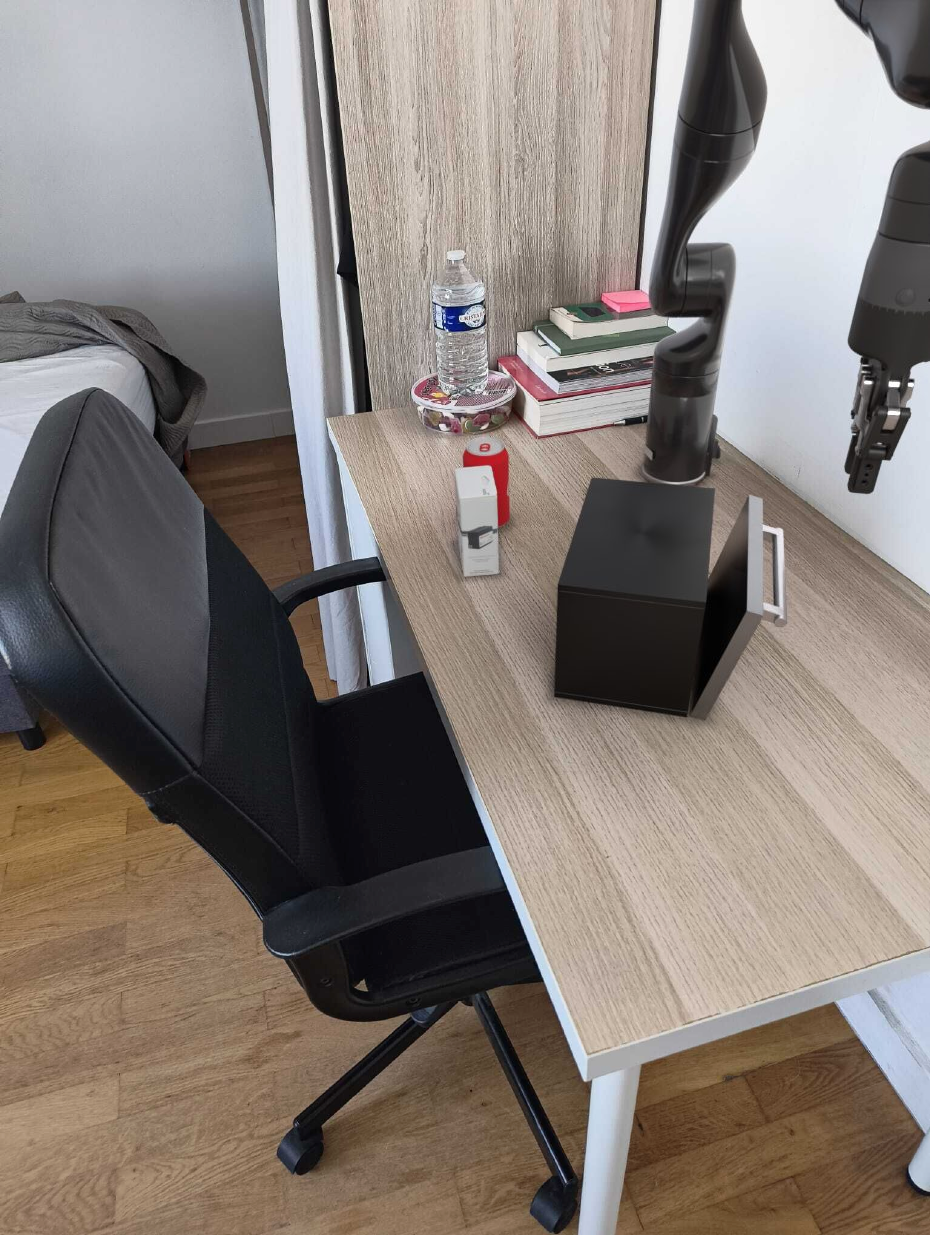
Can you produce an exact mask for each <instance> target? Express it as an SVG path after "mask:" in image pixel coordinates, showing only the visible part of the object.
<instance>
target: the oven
mask: <svg viewBox="0 0 930 1235" xmlns="http://www.w3.org/2000/svg"><path fill="white" fill-rule="evenodd" d="M715 497H716V488H715V487H703V486H682V485H671V484H660V483H650V482H649V481H636V480H627V479H615V478H604V477H592V476H591V478H590V480H589V483H588V487H587V491H586V494H585V497H584V500H583V503H582V506H581V510H580V513H579V516H578V519H577V522H576V526H575V528H574V531H573V534H572V538H571V540H570V544H569V547H568V550H567V553H566V557H565V560H564V564H563V566H562V568H561V572H560V576H559V579H558V581H557V587H556V588H557V592H556V622H555V623H556V624H555V651H554V652H555V653H554V654H555V657H554V685H553V686H554V687H553V689H554V692H553V697H554V698H558V699H565V700H571V701H578V702H582V703H583V702H584V703H591V704H597V705H604V706H610V707H616V708H624V709H629V710H630V709H631V710H636V711H643V712H649V713H656V714H663V715H669V716H675V717H682V718H687V717H688V714H689V707H690V702H691V698H692V691H693V680H694V672H695V666H696V660H697V654H698V648H699V642H700V636H701V630H702V624H703V618H704V612H705V606H706V598H707V586H708V578H709V572H710V559H711V547H712V536H713V524H714V523H713V522H714V511H715V510H714V509H715Z"/></svg>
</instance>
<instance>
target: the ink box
mask: <svg viewBox="0 0 930 1235" xmlns="http://www.w3.org/2000/svg"><path fill="white" fill-rule="evenodd" d="M453 471H454V492H455V493H454V494H455V510H456V511H455V512H456V531H457V545H458V551H459V557H460V563H461V568H462V574H463V577H464V578H465V577H466V578H467V577H477V576H479V577H480V576H490V575H498V574H500V555H499V554H500V553H499V528H498V514H497V491H496V486H495V482H494V478H493V472H492V468H491V466H488V465H487V466H476V467H465V468H463V467H455V468H454V470H453Z"/></svg>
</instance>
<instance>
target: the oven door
mask: <svg viewBox="0 0 930 1235" xmlns="http://www.w3.org/2000/svg"><path fill="white" fill-rule="evenodd" d="M763 500H764V499H763V498H762V497H759V496H755V495H753V494H748V496H747V498H746V499H745V502H744V503H743V505H742V508H741V510H740V512H739V514H738V516H737V518H736V521H735V522H734V525H733V526H732V529H731V531H730V533H729V535H728V537H727V539H726V541H725V543H724V545H723V547H722V549H721V551H720V553H719V555H718V557H717V559H716V562H715V564H714V565H713V568H712V570H711V571H710V574H709V575H708V586H707V598H706V606H705V612H704V618H703V624H702V630H701V636H700V642H699V648H698V654H697V660H696V666H695V672H694V678H693V684H692V690H691V701H690V702H691V704H690V713H689V716H690V717H693V718H697V719H698V720H701V721H702V720H703V721H706V720H707V718H708V716H709V714H710V712H711V711H712V709H713V707H714V705H715V704H716V702H717V700H718V698H719V697H720V695H721V694H722V691H723V689H724V688H725V686H726V684H727V682H728V680H729V678H730V676H731V675H732V673H733V672H734V670H735V668H736V667H737V664H738V663H739V660H740V659H741V657H742V656H743V653H744V652H745V650H746V649H747V646H748V645H749V643H750V641H751V639H752V637H753V636H754V634H755V632H756V631H757V629H758V626H759V625H760V623H761V621H765V622H768V623H771V624H773V625H775V627H777V628H784V627H786V626H787V624H788V609H787V608H788V606H787V587H786V586H787V585H786V563H785V562H786V560H785V539H784V537H785V536H784V529H782V528H781V527H773V526H769V525H766V524H764V506H763V505H764V502H763ZM764 541H765V542H769V543H771V554H772V555H771V556H772V558H771V559H772V562H771V563H772V598H773V600H772V602H773V604H771V603H767V602H765V601H764Z"/></svg>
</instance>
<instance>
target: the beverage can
mask: <svg viewBox="0 0 930 1235" xmlns="http://www.w3.org/2000/svg"><path fill="white" fill-rule="evenodd" d="M509 456H510V454H509V452H508V450H507V449H506V447H505V442H504V441H503V440H502V439H500V438H498V437H494V436H480V437H475V438H473V439H471V440H469V441H467V442H466V445H465V449H464V452H463V454H462V468H465V467H476V466H487V465H488V466H491V468H492V472H493V478H494V482H495V486H496V491H497V514H498V529H500V528H501V527H504V526H505V525H506V524H508V522H509V520H510V516H511V514H510V511H511V510H510V461H509V460H510V458H509Z"/></svg>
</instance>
